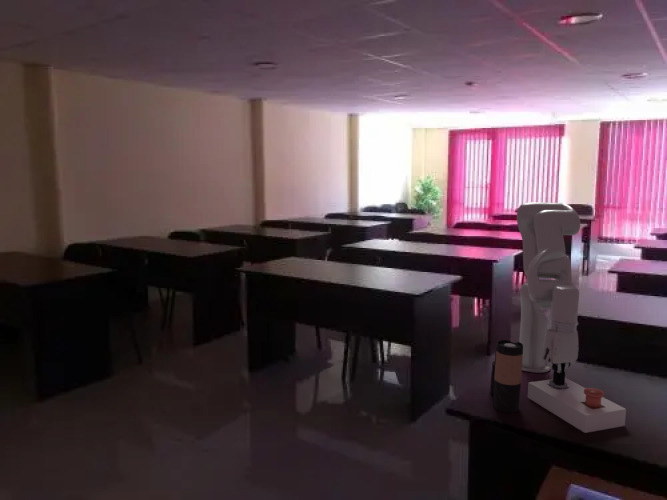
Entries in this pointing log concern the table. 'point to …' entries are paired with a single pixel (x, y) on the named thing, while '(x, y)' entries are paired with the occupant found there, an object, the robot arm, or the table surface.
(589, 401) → the red button
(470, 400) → the table surface
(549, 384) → the metal button
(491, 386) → the two-way radio
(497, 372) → the travel mug
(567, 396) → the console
